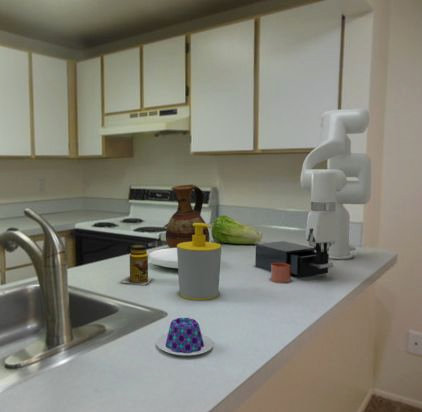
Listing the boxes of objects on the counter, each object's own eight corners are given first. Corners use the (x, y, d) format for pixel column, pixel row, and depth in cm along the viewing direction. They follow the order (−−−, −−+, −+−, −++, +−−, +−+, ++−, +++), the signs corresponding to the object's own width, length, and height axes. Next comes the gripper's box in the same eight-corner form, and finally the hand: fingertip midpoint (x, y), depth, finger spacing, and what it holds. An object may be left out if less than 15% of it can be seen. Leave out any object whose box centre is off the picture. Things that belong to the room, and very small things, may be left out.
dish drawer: (340, 276, 136) (341, 256, 135) (313, 281, 130) (313, 260, 130) (296, 264, 153) (296, 246, 153) (270, 268, 148) (270, 249, 147)
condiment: (145, 285, 131) (145, 248, 130) (120, 283, 134) (120, 247, 133) (151, 279, 138) (151, 244, 137) (128, 277, 141) (128, 243, 140)
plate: (155, 245, 174) (219, 247, 168) (155, 260, 174) (219, 263, 168) (142, 251, 146) (217, 254, 141) (141, 269, 146) (217, 273, 141)
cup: (280, 277, 139) (281, 262, 139) (294, 281, 134) (294, 265, 134) (267, 279, 137) (267, 264, 136) (280, 283, 132) (280, 267, 131)
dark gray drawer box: (314, 271, 146) (314, 247, 146) (285, 276, 141) (286, 251, 140) (282, 262, 160) (283, 240, 160) (255, 266, 155) (255, 244, 154)
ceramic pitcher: (156, 249, 188) (156, 184, 185) (186, 243, 202) (186, 183, 199) (188, 256, 174) (188, 185, 171) (218, 249, 187) (218, 184, 184)
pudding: (150, 337, 91) (150, 314, 90) (201, 331, 94) (201, 309, 93) (164, 362, 79) (164, 336, 79) (222, 355, 82) (222, 329, 82)
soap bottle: (210, 303, 113) (210, 227, 111) (169, 296, 120) (168, 224, 118) (227, 291, 124) (228, 222, 122) (188, 285, 131) (188, 219, 129)
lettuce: (262, 247, 204) (255, 256, 191) (215, 236, 214) (206, 243, 201) (267, 220, 200) (260, 227, 188) (219, 210, 211) (210, 216, 198)
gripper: (329, 206, 140) (327, 259, 141) (297, 207, 133) (295, 263, 135) (349, 207, 133) (346, 263, 134) (316, 209, 127) (314, 267, 128)
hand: (321, 262), depth 135 cm, fingers closed
